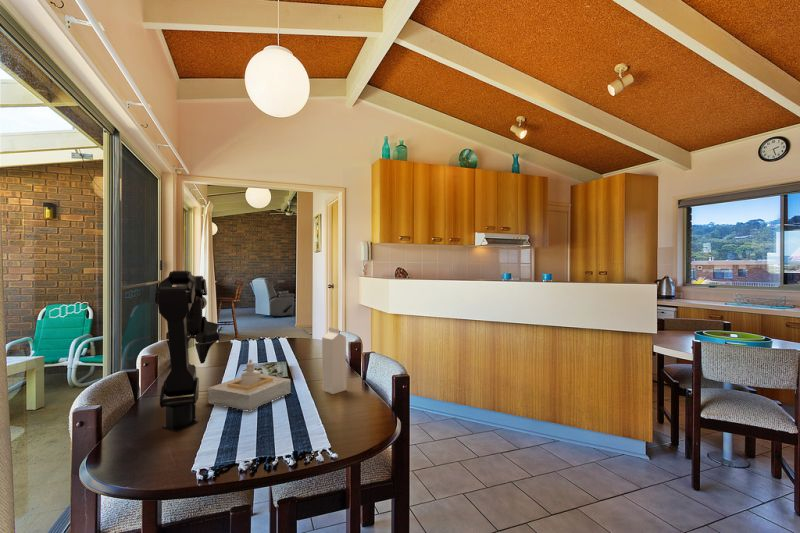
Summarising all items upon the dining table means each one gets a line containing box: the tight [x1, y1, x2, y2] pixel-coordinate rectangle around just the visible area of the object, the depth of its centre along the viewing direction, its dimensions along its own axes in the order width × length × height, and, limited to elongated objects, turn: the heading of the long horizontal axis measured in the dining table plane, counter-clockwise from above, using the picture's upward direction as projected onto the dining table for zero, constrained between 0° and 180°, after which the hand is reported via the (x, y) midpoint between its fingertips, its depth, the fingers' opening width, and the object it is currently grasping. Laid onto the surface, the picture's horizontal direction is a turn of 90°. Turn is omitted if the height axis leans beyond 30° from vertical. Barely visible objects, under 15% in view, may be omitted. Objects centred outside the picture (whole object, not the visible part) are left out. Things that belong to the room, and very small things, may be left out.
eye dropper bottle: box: [241, 358, 261, 386], centre depth 125 cm, size 4×6×12 cm
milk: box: [321, 327, 347, 395], centre depth 133 cm, size 6×6×22 cm
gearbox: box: [207, 374, 292, 412], centre depth 127 cm, size 23×18×6 cm
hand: (192, 361), depth 122 cm, fingers open, 9 cm apart
